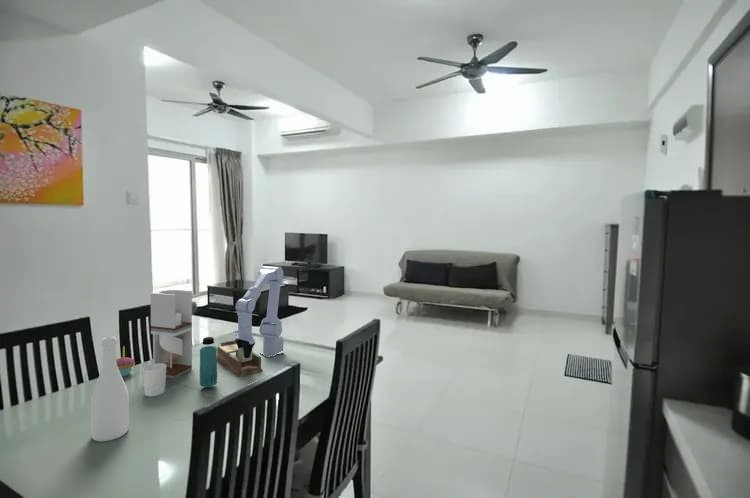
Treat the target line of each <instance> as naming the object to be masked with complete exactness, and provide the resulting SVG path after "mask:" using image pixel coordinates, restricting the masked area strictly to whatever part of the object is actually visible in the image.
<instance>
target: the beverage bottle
mask: <svg viewBox="0 0 750 498" xmlns="http://www.w3.org/2000/svg"><path fill="white" fill-rule="evenodd" d="M214 343H215V337H213V336H207V337H203V338H202V344H203V346H202V347H201V348H200V349H199V385H200V387H203V388H210V387H214V386H216V385H217V383H218V362H217V348H218V347H216V346H215V345H214Z"/></svg>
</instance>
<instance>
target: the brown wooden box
mask: <svg viewBox="0 0 750 498" xmlns="http://www.w3.org/2000/svg"><path fill="white" fill-rule="evenodd" d="M216 348H217V364H219V365H221V366H222V367H223V368H225V369H226V370H228V371H229V372H230V373H232V374H233V375H234V376H236V377H237V378H241V377H244V376H248V375H252V374H255V373H256V374H257V373H260V372H263V370H264V369H263V368H262V356H261V355H260V354H256V353H255V352H253V351H252V360H249V361H245V362H242V361H240V360H238V352H235V354H234V355H232V354H231V353H229V354H227V353H225V352H224V351H222V350H221V349H219V348H218V347H216ZM259 371H260V372H259Z"/></svg>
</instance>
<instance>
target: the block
mask: <svg viewBox="0 0 750 498" xmlns="http://www.w3.org/2000/svg"><path fill="white" fill-rule="evenodd" d="M252 352H253V350H252V351H251V355H250V358H245V357H244V350H243V347H241V348H238V360H240V361H242V362H245V361H249V360H252Z"/></svg>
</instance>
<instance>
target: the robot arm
mask: <svg viewBox="0 0 750 498" xmlns="http://www.w3.org/2000/svg"><path fill="white" fill-rule="evenodd" d="M283 281H284V270H283V268H282V267H281V266H269V265H268V266H267V265H263V266H262V267H261V268H260V269H259V277H257V280H256V282H255V283H254V284H253V286H250V287H249V288H248V289H247V291H246V292H245V294H244V295H243V297H242V298H239V299H238V300H236V303H235V310H236V315H237V316H238V317H237V332H235V339H234V340H235V342H236V344H237V347H238V348H241V347H243V350H244V357H245V358H250V355H251V351H252V352H253V349H254V346H255V344H256V342H255V341H256V340H255V338H254V337H253V335H252V333H253V328H252V327H253V324H252V323H253V320H252V319H253V311H254V310H255V309H256V302H257V300H258V299H259V297H260V296H261V294H262V292H261V291H262V289H263V288H264V287H265V285H267V284H268V285H269V290H268V291H269V292H268V299H267V308H266V309H267V310H266V317H263V319H261V323H260V325H259V330H258V332H259V334H260V335H261V337H262V338H263V339H262V351H261V352H262V353H261V352H260V351H259V354H260V353H261V354H260V355H262V354H263V355H264V356H263V355H262V356H263V357H265V356H266V357H265V358H270V357H269V356H271V355H275V354H277V353H279V352H281V351H283V352H284V338H283V336H282V335H281V334H282V332H283V326H282V323H283V322H282V320H281V319H280V318H279V317H278V310H279V300H280V293H281V292H280V291H281V284H283Z"/></svg>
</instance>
